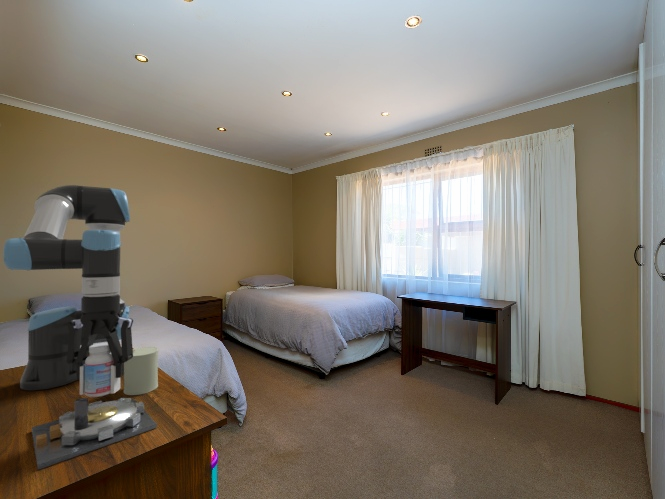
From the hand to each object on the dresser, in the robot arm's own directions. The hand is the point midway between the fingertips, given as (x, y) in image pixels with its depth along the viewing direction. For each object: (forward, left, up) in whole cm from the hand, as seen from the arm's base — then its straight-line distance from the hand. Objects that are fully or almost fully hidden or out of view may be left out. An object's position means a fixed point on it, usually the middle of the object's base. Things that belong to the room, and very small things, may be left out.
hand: (100, 391), depth 77 cm
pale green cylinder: (-18, +14, -9) cm, 24 cm away
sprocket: (0, 0, -7) cm, 7 cm away
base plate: (0, 0, -9) cm, 9 cm away
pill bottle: (0, 0, -1) cm, 1 cm away
